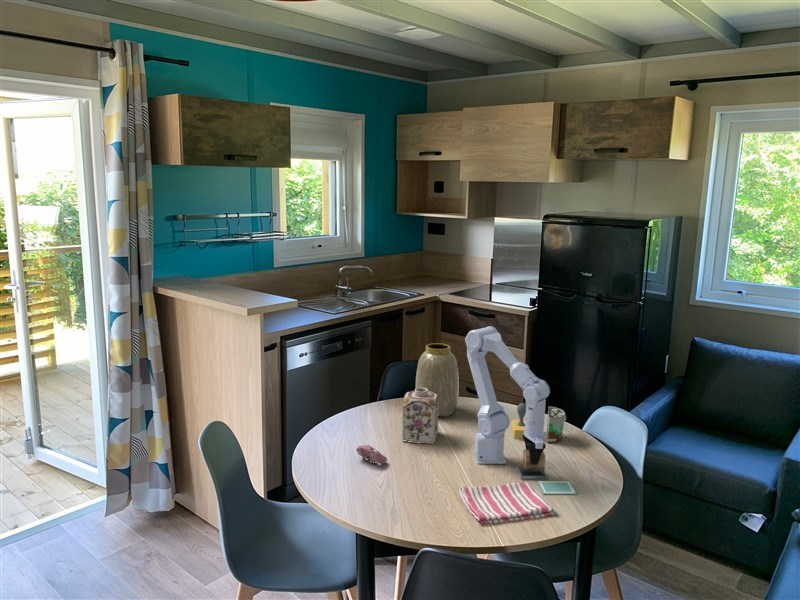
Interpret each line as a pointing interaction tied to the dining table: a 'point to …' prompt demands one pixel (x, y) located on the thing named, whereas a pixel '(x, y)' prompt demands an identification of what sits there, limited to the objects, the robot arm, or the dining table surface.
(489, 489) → the dish towel
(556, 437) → the food container
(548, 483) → the marked card
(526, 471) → the ink pad
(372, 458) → the pink rounded piece
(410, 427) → the decorative jar
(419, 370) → the vase
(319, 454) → the dining table surface
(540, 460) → the hand stamp
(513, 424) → the rubber stamp
